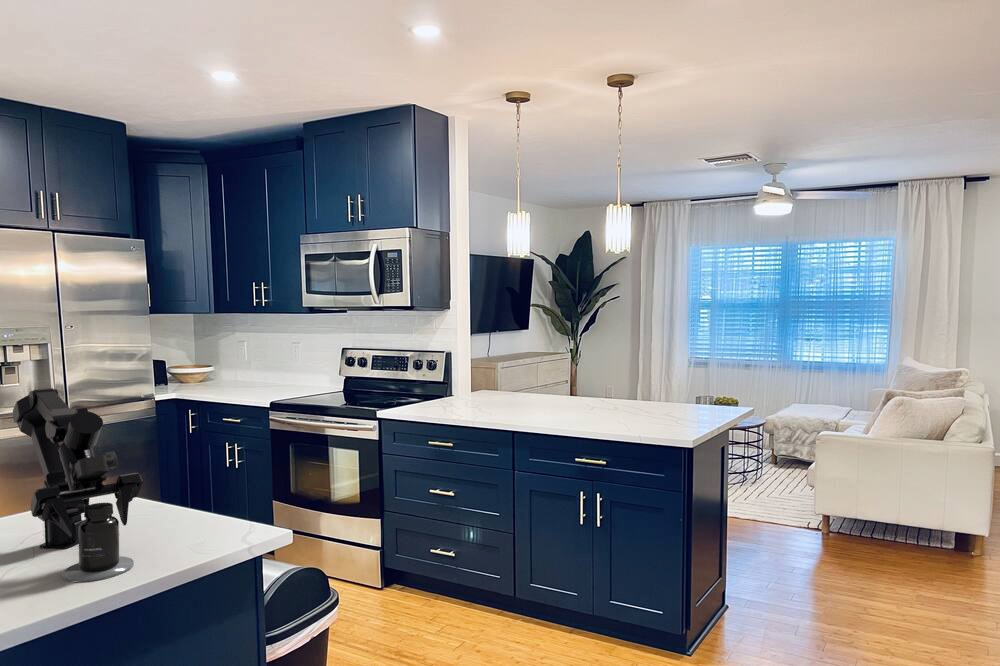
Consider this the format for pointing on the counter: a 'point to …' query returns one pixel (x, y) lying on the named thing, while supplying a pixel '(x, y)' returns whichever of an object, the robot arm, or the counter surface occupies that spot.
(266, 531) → the counter surface
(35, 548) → the counter surface
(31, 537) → the counter surface
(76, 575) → the slate coaster
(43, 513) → the robot arm
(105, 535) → the supplement bottle
